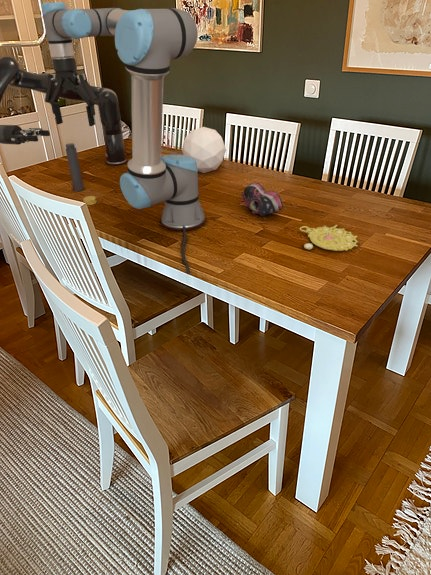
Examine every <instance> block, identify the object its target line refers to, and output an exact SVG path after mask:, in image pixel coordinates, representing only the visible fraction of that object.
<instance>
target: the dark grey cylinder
mask: <svg viewBox="0 0 431 575" xmlns="http://www.w3.org/2000/svg"><path fill="white" fill-rule="evenodd" d="M65 154H66V159H67V163H68V167H69V173H70V177H71V182H72V188H73V191H74V192H82V191H84V190H85V187H84V182H83V177H82V176H83V175H82V172H81V166H80V162H79V157H78V152H77V147H75V144H74V143H72V142H70V143H66V144H65Z"/></svg>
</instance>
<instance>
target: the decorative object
mask: <svg viewBox="0 0 431 575" xmlns="http://www.w3.org/2000/svg"><path fill="white" fill-rule="evenodd" d="M303 228H304V229H305V230H304V229H303ZM299 231H300V232H303V233H305V234H307V237H308V238H309V240H310V241H311V243H304V244H303V248H304V249H305V250H313V249H314V245H315V246H316V247H318V248H321V249H324V250H328V251H335V252H341V251H348V250H352V249H354V247H356V248H358V247H359V245H358V244H357V243H359V240H357V238H359V237H358V235H353V234H352V231H347V230H346V229H345V228H344V227H342V228H338V224H335V225H333V226H331V227H328V226H327V225H326V224H325V225H323V226H322V227H321V226H317V227H316V228H314V227H309V226H308V225H302V226H300V227H299ZM313 244H314V245H313Z"/></svg>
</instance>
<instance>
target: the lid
mask: <svg viewBox="0 0 431 575" xmlns="http://www.w3.org/2000/svg"><path fill="white" fill-rule="evenodd" d="M82 202H83V203H84V202H85V203H87V205H86V206H93V205H96V204H97V198H96V196H94V195H88V196H85V197H83V201H82Z"/></svg>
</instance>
